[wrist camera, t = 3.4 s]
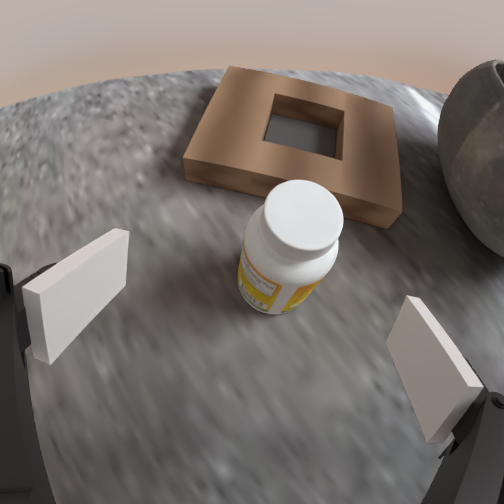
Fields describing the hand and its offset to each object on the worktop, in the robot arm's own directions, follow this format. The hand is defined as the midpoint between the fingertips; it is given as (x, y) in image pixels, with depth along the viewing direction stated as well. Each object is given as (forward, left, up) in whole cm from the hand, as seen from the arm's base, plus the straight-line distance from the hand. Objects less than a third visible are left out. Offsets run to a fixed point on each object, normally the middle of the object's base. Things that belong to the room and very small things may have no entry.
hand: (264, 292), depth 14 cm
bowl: (-23, -18, -9) cm, 31 cm away
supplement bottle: (-1, -4, -9) cm, 10 cm away
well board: (-1, -18, -9) cm, 20 cm away
